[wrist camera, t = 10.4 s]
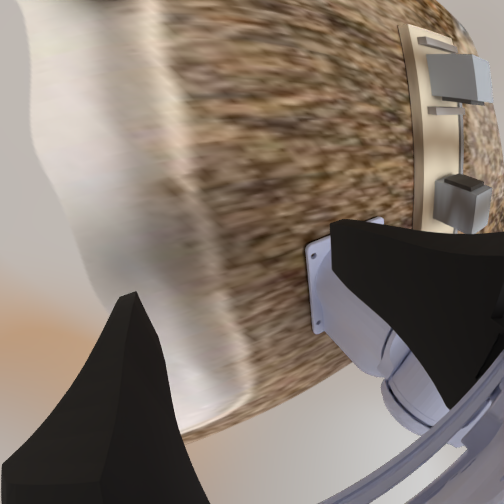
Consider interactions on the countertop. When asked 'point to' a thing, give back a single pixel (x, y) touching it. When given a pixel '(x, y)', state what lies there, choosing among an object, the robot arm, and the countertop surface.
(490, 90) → the finger part
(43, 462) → the robot arm
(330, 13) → the countertop surface
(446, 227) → the rail
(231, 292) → the countertop surface
